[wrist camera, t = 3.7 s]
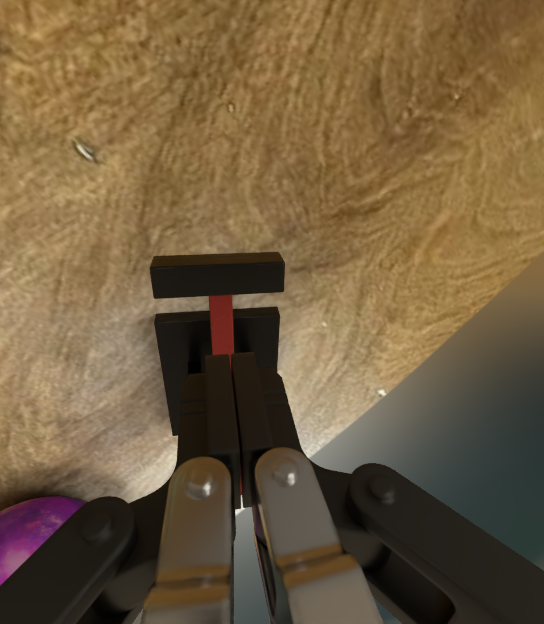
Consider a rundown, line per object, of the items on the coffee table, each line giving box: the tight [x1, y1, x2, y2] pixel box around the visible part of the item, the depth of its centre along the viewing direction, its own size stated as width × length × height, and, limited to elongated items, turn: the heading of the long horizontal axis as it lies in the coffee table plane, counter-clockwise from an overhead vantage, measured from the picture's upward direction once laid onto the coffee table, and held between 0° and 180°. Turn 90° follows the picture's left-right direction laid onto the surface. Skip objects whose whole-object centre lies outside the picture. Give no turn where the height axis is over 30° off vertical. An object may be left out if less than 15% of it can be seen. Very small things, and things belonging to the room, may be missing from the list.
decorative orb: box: [0, 496, 87, 585], centre depth 31 cm, size 15×15×15 cm
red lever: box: [150, 252, 285, 495], centre depth 21 cm, size 15×6×2 cm, turn 178°
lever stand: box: [154, 307, 280, 436], centre depth 27 cm, size 12×9×11 cm
